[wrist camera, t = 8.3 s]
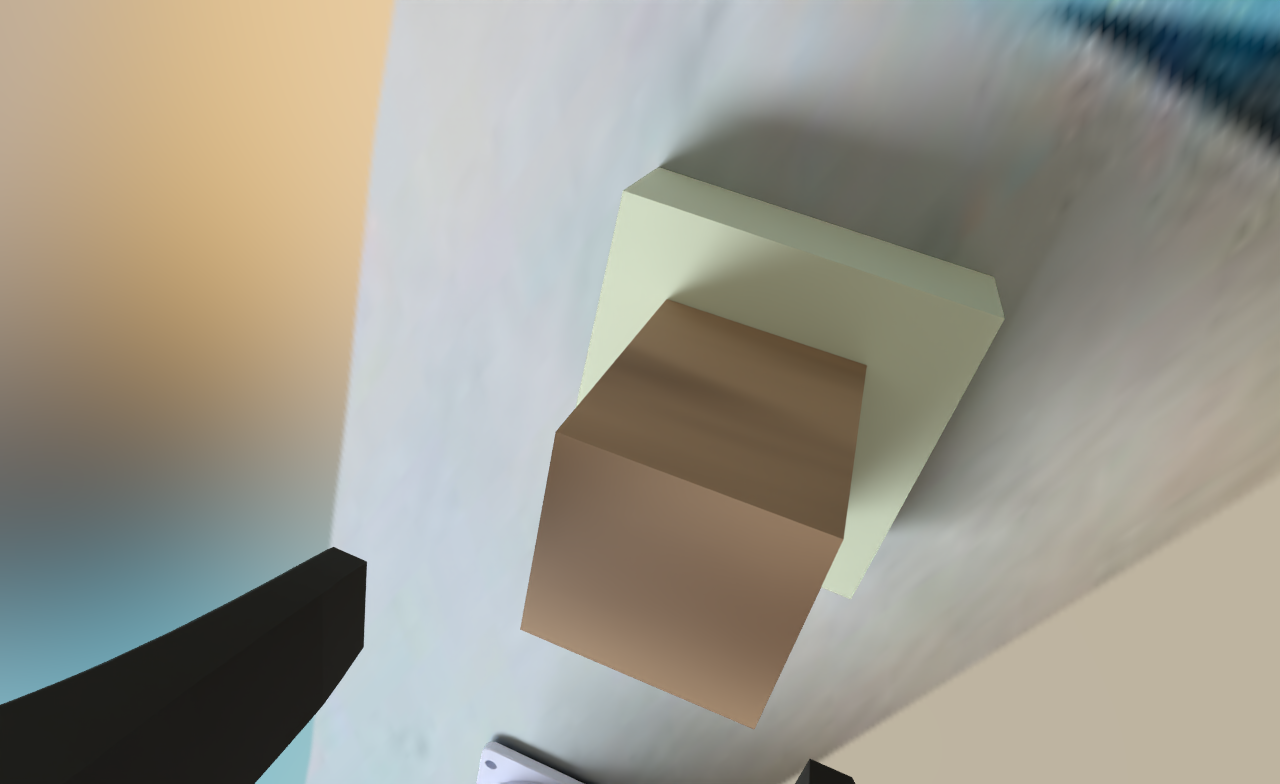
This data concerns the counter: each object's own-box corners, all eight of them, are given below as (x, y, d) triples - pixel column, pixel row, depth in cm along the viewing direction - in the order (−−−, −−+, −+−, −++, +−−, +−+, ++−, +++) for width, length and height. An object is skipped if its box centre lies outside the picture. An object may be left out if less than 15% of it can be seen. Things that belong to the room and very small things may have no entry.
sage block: (858, 526, 21) (850, 599, 19) (600, 425, 22) (559, 480, 20) (992, 270, 17) (1005, 318, 14) (664, 163, 18) (623, 190, 16)
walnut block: (799, 524, 18) (754, 729, 13) (627, 459, 19) (520, 629, 14) (866, 365, 16) (843, 539, 11) (666, 298, 16) (556, 432, 11)
